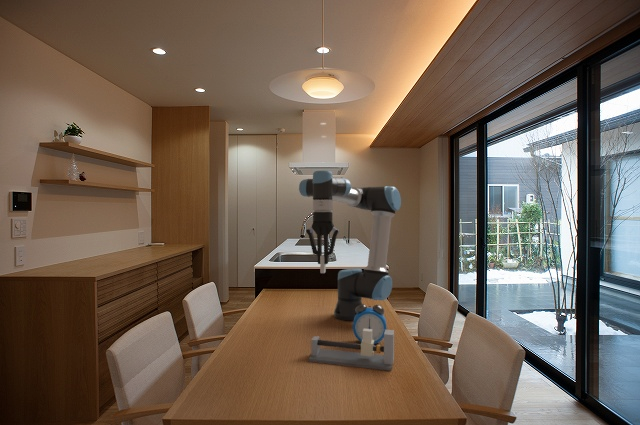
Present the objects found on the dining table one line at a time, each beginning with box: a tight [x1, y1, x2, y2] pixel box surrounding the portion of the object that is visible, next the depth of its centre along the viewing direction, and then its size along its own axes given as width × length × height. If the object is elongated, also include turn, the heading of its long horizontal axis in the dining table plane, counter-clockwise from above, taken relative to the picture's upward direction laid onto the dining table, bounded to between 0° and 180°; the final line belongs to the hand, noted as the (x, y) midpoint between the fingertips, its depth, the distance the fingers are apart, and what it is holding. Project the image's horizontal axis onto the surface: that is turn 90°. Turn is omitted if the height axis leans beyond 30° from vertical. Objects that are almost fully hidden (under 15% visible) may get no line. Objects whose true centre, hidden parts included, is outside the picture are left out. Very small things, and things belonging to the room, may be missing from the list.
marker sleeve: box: [360, 329, 375, 357], centre depth 129 cm, size 4×4×8 cm
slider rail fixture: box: [308, 329, 395, 372], centre depth 130 cm, size 10×28×11 cm, turn 75°
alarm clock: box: [352, 303, 388, 345], centre depth 147 cm, size 13×6×15 cm, turn 81°
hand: (323, 272), depth 144 cm, fingers closed
